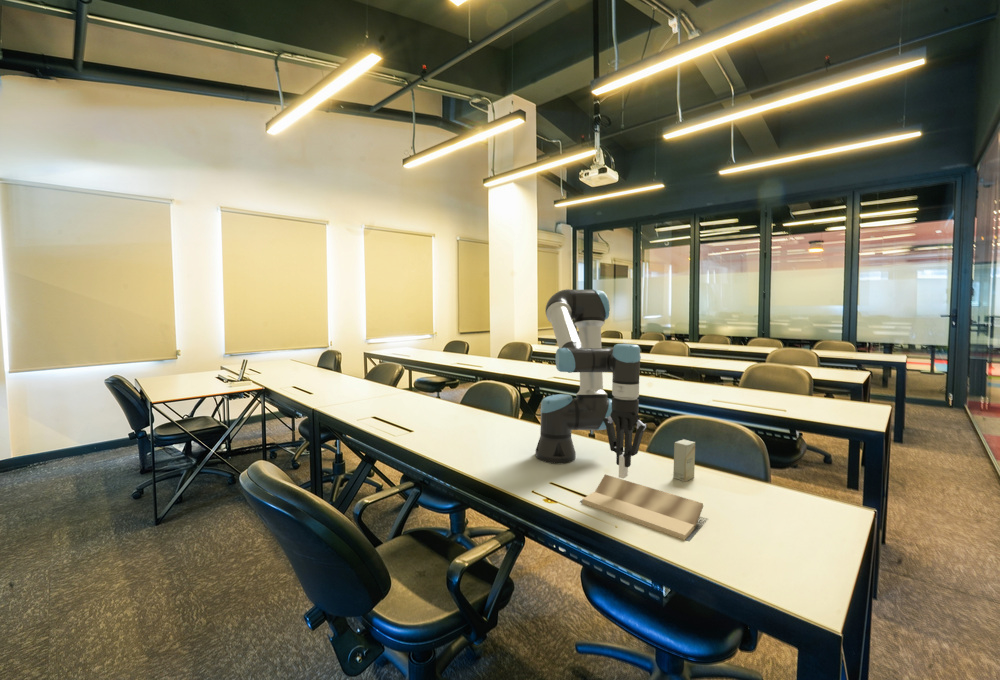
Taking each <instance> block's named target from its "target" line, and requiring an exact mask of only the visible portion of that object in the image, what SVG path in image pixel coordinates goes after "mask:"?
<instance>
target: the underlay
mask: <svg viewBox="0 0 1000 680" xmlns="http://www.w3.org/2000/svg"><path fill="white" fill-rule="evenodd" d="M581 499H582V500H580V501H579V503H582V504H584V505H587V506H589V507H592V508H595V509H598V510H600V511H603V512H605V513H606V512H607V513H609V514H612V515H615V516H616V517H620V518H623V519H626V520H627V521H631V522H634V523H636V524H639V525H643V526H645V527H647V528H650V529H653V530H656V531H659V532H661V533H665V534H667V535H670V536H672V537H676V538H679V539H681V540H683V541H687V542H690V541H691V540H692V539H693V538H694V537H695V535H696V534H697V533H698V532H699V531H700V529H701V527H703V526H704V525H705V524H706V523H707V521H709V518H707V517H703V516H701V515H700V517H699V519H698V522H697V525H696V527H695V528H694V525H693V524H690V523H687V522H684V521H681V520H678V519H675V518H672V517H669V516H666V515H663V514H660V513H657V512H654V511H651V510H648V509H645V508H642V507H639V506H636V505H633V504H630V503H627V502H624V501H621V500H618V499H615V498H612V497H609V496H606V495H603V494H600V493H597V492H595V491H593V492H591V493H590V494H588V495H586V496H585V497H583V498H581ZM698 525H700V526H698Z"/></svg>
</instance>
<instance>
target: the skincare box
mask: <svg viewBox="0 0 1000 680" xmlns="http://www.w3.org/2000/svg"><path fill="white" fill-rule="evenodd" d="M673 446H674V447H673V449H674V450H673V474H672V475H673V478H674V479H677V480H680V481H683V482H687V481H689V480H692V479H694V478H695V466H696V465H695V463H696V462H695V461H696V460H695V459H696V441H691V440H688V439H684V438H682V439H681V440H677V441H675V442H674V445H673Z"/></svg>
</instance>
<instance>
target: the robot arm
mask: <svg viewBox="0 0 1000 680" xmlns="http://www.w3.org/2000/svg"><path fill="white" fill-rule="evenodd" d="M610 309H611V307H610V301H609V298H608V295H607V293H606V292H604V291H603V290H599V289H569V288H566V289H562V290H560V291H557V292H555V293H554V294H553V295H552V296H551V297H550V298H549V299H548V301H547V302H546V305H545V315H546V318H547V321H548V322H549V323H551V327H552V330H553V333H554V336H555V337H554V338H555V340H556V343H557V346H558V348H557V349H556V352H555V368H556V370H557V371H558V372H559V373H560V372H561V373H572V374H573V373H579V390H578V391H577V393H575V395H576V396H575V398H573V396H572V395H571V394H563V393H559V394H552V395H548V396H545V397H543V399H542V400H541V403H540V411H539V412H540V435H539V438H538V442H537V444H536V448H535V458H536V459H537V460H539V461H541V462H544V463H548V464H555V465H556V464H568V463H569V464H570V463H571V462H575V460H576V455H577V453H576V449H575V446H574V443H573V439H572V438H573V437H572V431H603V430H606V432H607V433H606V434H607V439H608V442H609V443H608V444H609V445H608V446H609V450H610V451H611V452H614V453H615V454H616V457H615V458H616V462H615V463H616V465H618V478H619V479H622V480H625V479H626V477H628V476H629V475H628V472H629V468H630V467H631V465H632V464H631V463H632V462H631V461H632V457H635V456H636V455H638V453H639V450H640V446H641V443H642V439H643V436H644V432H645V431H646V429H647V427H648V424H647V423H643V421H641V420H640V419H641V418H640V415H639V411H640V409H639V407H640V406H639V405H640V401H639V400H640V399H638V398H639V397H640V377H641V376H640V374H641V372H640V369H641V359H642V358H641V357H642V356H641V347H640V346H639V345H638V344H632V343H631V344H630V343H617V344H614V346H613V347H606V348H605V347H604V348H603V347H602V327H603V326H604V325H605V322H606V321H607V320H608V318H609V317H610ZM576 327H577V329H578V330H577V329H576ZM603 373H612V387H611V395H612V396H613V397H612V398H608V393H607V392H606V391H605V390H604V385H603V383H604V382H603V379H604V378H603V377H604V376H603ZM614 425H615V426H614ZM635 427H636V431H635V434H634V438H633V433H634V428H635Z"/></svg>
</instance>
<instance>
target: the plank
mask: <svg viewBox="0 0 1000 680" xmlns="http://www.w3.org/2000/svg"><path fill="white" fill-rule="evenodd" d="M594 492H597V493H600V494H603V495H606V496H609V497H612V498H615V499H618V500H621V501H624V502H627V503H630V504H633V505H636V506H639V507H642V508H645V509H648V510H651V511H654V512H657V513H660V514H663V515H666V516H669V517H672V518H675V519H678V520H681V521H684V522H687V523H690V524H693V525H694V528H697V527H696V526H698V524H697V523H699V520H700V518H701V517H700V516H701V514H702V512H703V508H704V503H703V502H701V501H700V502H699V501H697V500H693V499H689V498H686V497H683V496H679V495H676V494H673V493H670V492H665V491H663V490H660V489H655V488H653V487H649V486H646V485H643V484H638V483H635V482H632V481H628V480H625V479H623V478H619V477H615V476H611V475H607V474H604V475H603V477H602V479H601V480H600V482H599V484H598V486H597V487H596V489H595V490H594ZM699 517H700V518H699Z"/></svg>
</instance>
